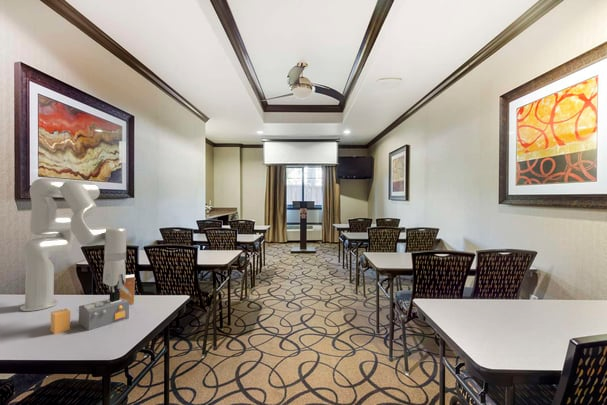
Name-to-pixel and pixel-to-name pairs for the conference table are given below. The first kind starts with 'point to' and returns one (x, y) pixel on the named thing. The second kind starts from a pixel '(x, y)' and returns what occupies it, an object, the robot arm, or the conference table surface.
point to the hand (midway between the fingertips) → (114, 300)
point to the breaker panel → (102, 313)
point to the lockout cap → (60, 321)
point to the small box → (128, 289)
